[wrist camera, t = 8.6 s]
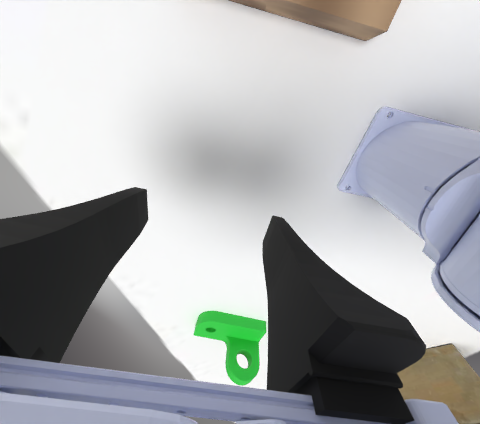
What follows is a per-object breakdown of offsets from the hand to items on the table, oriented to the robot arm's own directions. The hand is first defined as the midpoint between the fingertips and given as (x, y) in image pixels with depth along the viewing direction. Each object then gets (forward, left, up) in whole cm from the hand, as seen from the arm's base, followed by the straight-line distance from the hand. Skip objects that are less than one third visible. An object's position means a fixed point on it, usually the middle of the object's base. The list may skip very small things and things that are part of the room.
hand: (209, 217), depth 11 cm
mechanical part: (-6, +30, -10) cm, 32 cm away
